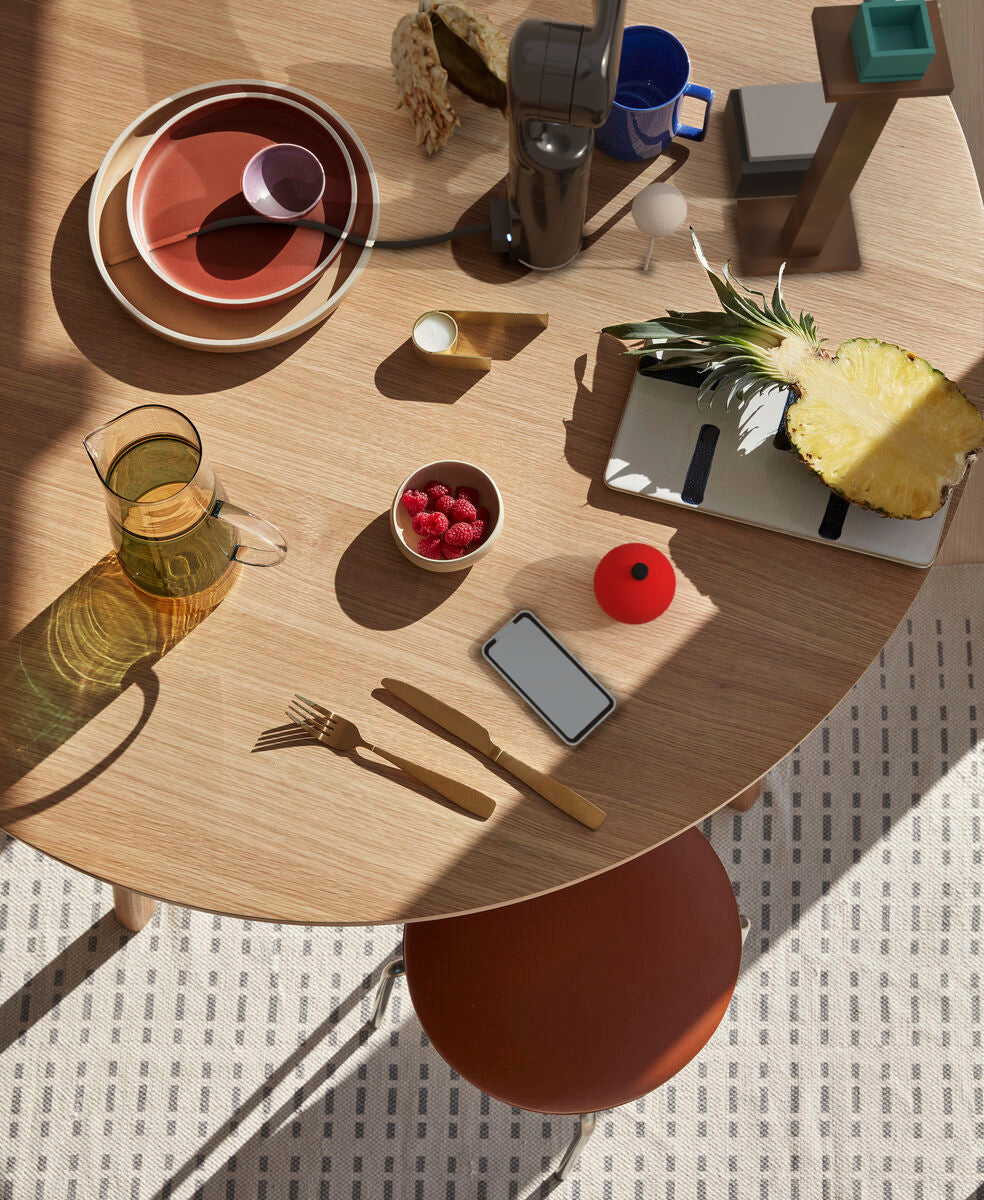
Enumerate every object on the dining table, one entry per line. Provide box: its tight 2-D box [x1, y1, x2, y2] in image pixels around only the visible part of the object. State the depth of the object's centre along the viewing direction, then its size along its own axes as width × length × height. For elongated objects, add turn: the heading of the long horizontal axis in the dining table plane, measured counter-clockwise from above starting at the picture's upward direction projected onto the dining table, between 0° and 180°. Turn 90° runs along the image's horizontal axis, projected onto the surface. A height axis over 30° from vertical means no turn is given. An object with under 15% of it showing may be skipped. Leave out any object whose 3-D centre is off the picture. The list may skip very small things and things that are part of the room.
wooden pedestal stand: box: [734, 0, 956, 278], centre depth 121 cm, size 14×10×32 cm
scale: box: [721, 81, 837, 199], centre depth 136 cm, size 14×12×6 cm
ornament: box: [592, 542, 677, 626], centre depth 120 cm, size 9×9×10 cm
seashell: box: [389, 0, 510, 156], centre depth 133 cm, size 18×18×15 cm
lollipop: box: [631, 182, 688, 271], centre depth 128 cm, size 6×6×15 cm
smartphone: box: [481, 609, 617, 747], centre depth 122 cm, size 7×1×15 cm
